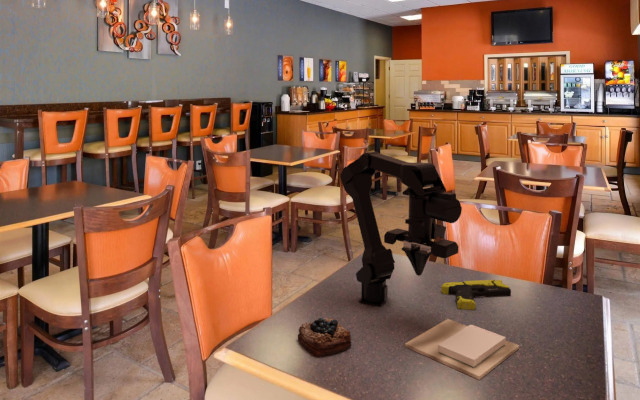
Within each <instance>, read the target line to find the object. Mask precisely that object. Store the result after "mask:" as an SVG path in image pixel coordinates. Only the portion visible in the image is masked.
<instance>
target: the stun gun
mask: <svg viewBox="0 0 640 400" xmlns="http://www.w3.org/2000/svg"><path fill="white" fill-rule="evenodd" d="M440 291H441V293H442V294H443V295H447V296H449V295H455V302H456V307H457V309H458V310H459V309H461V310H470V311H473V310H476V306H477V303H476V300H475V299H474V298H478V297H479V298H480V297H481V298H482V297H486V298H491V297H493V298H494V297H511V295H512V289H511V288H510V286H509V285H507V284H504V283H503V281H502V279H497V280H496V279H481V280H480V279H479V280H464V281H451V282H450V281H448V282H444V283H443V284H441V285H440Z"/></svg>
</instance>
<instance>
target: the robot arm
mask: <svg viewBox="0 0 640 400" xmlns="http://www.w3.org/2000/svg"><path fill="white" fill-rule="evenodd" d="M377 172H381V173H383V174H385V175H386V174H387V175H389V176H392V177H395V178H397V179H399V180H400V183H401V184H403V186H406V187H407V188H406V189H405V190H403V191H402V195H404V196H406V197H407V196H408V218H406V219H404V221H405V222H404V223H405V224H406V225H408V229H402V228H399V227H397V228H394V229H391V230H387V231H386V232H385V234H384V235H383V242H384V244H388V245H391V246H393V245H395V244H396V243H397V241H400V242H401V243H403V246H402V247H401V251H403V252H404V254H405V256H406V257H407V259H408V260H409V262H410V264H411V266H412V268H413V271H414V272H415V275H416V276H418V277H419V276H422V274H423V272H424V270H425V268H426V265H427V263H428V260H429V258H430V257H431V255H433V257H436V258H440V259H447V258H450V257H452V256H455V255H457V254H459V245H458V243H457V242H456V241H453V240H449V239H445V235H446V230H447V226H445V225H442V224H437V221H441V222H444V223H448V224H454V223H456V222H457V221H458V220H459V219H460V217H461V215H462V211H463V207H462V204H461V202H460V200H459V199H457V194H456V193H454V192H447V188H446V187H445V184H444V183H443V181H442V179H441V177H440V174H439V173H438V171H437V169H436V165H434V164H433V163H430V162H410V161H406V160H402V159H399V158H395V157H393V156H388V155H385V154H383V153H381V152H378V151H369V152H364V153H362V154H361V155H360V156H359V157H358V158H356V159H354V160H353V161H352V162H350V163H349V164H347V165H346V166H345V167H343V169H342V170H341V173H340V176H339V177H340V182H341V185H342V186H343V189H344V191H345V192H346V193H347V195H349V197H350V198H351V199H352V202H353V206H354V210H355V214H356V218H357V222H358V226H359V227H358V228H359V230H360V234H361V239H362V243H363V246H364V250H363V254H362V257H361V263H362V264H361V265H362V267H361V268H360V269H358V271H357V272H356V273H355V277H356V280H357V282H359V283H361V287H360V288H361V292H360V293H361V298H360V299H359V300H358V301H359V303H362V304H367V305H372V306H378V307H381V306H382V305H383V304H384V303H385V302H386V301H387V300H388V298H389V297H388V293H389V291H388V287H389V286H388V285H387V280H391V277H392V275H393V272H394V270H395V263H396V261H395V260H394V256H393V251H392V249H391V248H386V247H385V246H384V244H383V243H382V239H381V234H380V230H379V227H378V223H377V218H376V215H375V210H374V208H373V203H372V199H371V194H370V193H371V191H372V190H371V189H372V187H373V178H372V177H374V175H375V174H377ZM438 238H439V239H441V240H438V241H434V240H437V239H438Z"/></svg>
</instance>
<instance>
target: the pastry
mask: <svg viewBox="0 0 640 400" xmlns="http://www.w3.org/2000/svg"><path fill="white" fill-rule="evenodd" d="M298 328H299V329H298V335H297V340H298V342H299V343H300V344H301V346H302V347H304V349H305V350H306V351H307V352H309V354H311V355H310V356H312V357H315V358H320V357H322V358H323V357H326V356H330V355H334V354H339V353H340V352H344V351H346V350H348V349H350V348H352V337H351V331H350V330H349V331H348V330H347V329H346V328H345V327H344V326H343V325H341V324H340V323H339V321H338V320H337V319H335V318H327V317H325V318H323V317H319V318H317V319H315V320H314V321H312V322H306V323H302V324H301V325H300V326H299V327H298Z"/></svg>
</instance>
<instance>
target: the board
mask: <svg viewBox="0 0 640 400" xmlns="http://www.w3.org/2000/svg"><path fill="white" fill-rule="evenodd" d="M467 326H468V325H465V324H464V323H460V322H458V321H455V320H452V319H449V318H447V319H445V320H444V321H442V322H440V323H438V324H437V325H435V326H433V327H432V328H429V329H427V330H426V331H424V332H423V333H421V334H419V335H417V336H415V337H414V338H412V339H411V340H409V341H407V342H405V344H404V347H405V348H406V349H407V348H408V349H409V350H410V351H414V352H416V353H418V354H420V355H422V356H425V357H428V358H429V359H432V360H434V361H436V362H438V363H440V364H443V365H445V366H447V367H449V368H452V369H454V370H456V371H458V372H461V373H462V374H465V375H467V376H470V377H472V378H474V379H477V381H478V380H479V381H480V380H481V379H482V378H484V377H485V376H487V374H489V373H490V372H491V371H492V370H494V369H495V368H497V367H498V366H499V365H500V364H501V363H503V362H504V361H505V360H506V359H508V358H509V357H511V356H512V355H513V354H514V353H516V352H517V351H518V350H519V349H520V345H519V344H517V343H514V342H511V341H508V340H506V342H505V344H504V346H502V347H501V348H500V349H498V350H497V351H496V352H494V353H493V354H492V355H490V356H489V357H487V358H486V359H485V360H483V361H482V362H481V363H479V364H478V365H477V366H475V367H471V366H469V365H467V364H464V363H462V362H460V361H457V360H455V359H453V358H451V357H448V356H446V355H444V354H441V353H439V352H438V345H439V344H440V343H442V342H443V341H445V340H447V339H448V338H450V337H451V336H453V335H455V334H456V333H458V332H459V331H461V330H463V329H464V328H466V327H467Z"/></svg>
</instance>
